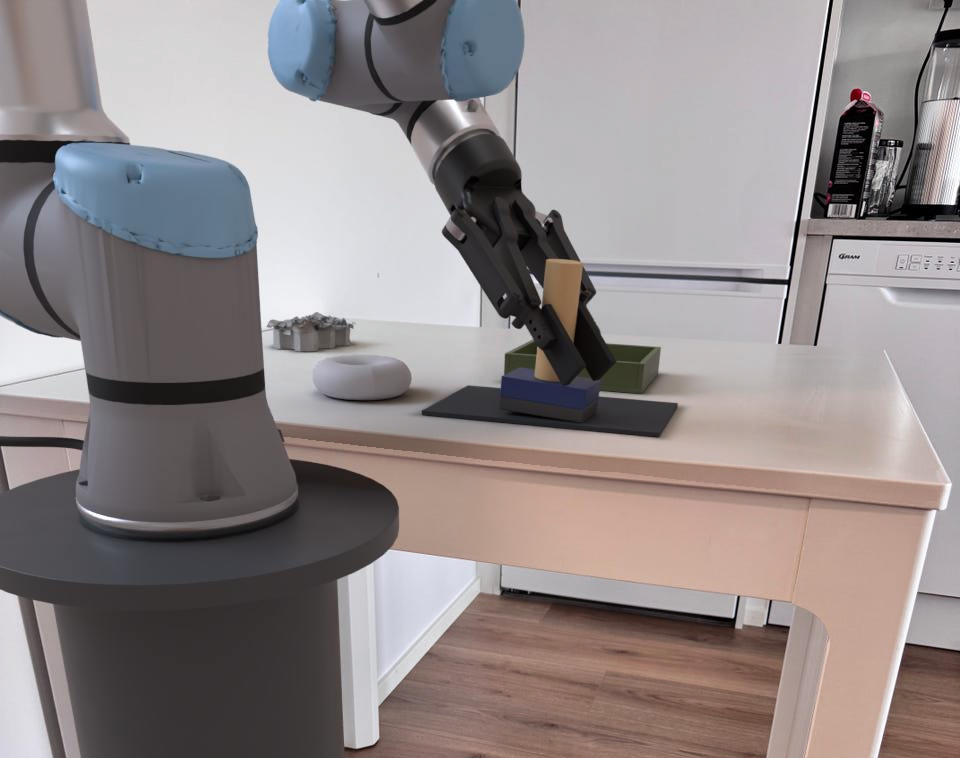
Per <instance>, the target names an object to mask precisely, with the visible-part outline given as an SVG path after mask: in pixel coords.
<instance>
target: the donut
mask: <svg viewBox="0 0 960 758" xmlns="http://www.w3.org/2000/svg"><path fill="white" fill-rule="evenodd" d="M311 377H312V381H313V385H314V386H315V388H316V390H317V391H318V392H319V393H322V394H323V395H325V396H327V397H330V398H333V399H338V400H339V399H340V400H347V401H349V400H350V401H377V400H378V401H379V400H389V399H393V398H396V397H399V396H401V395H403V394H404V393H405V392H406V391H407V390H408V389H409V388H410V386H411V384H412V379H413V378H412V372H411V370H410V368H409V366H408V365H407V364H406V363H405V362H404V361H403V360H400V359H398V358H395V357H391V356H386V355H375V354H342V355H334V356H328V357H326V358H325V357H324V358H323V359H322V360H320V361H318V362H317V363H316V364H315V365H314V367H313V369H312V376H311Z"/></svg>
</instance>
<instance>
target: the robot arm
mask: <svg viewBox="0 0 960 758" xmlns="http://www.w3.org/2000/svg"><path fill="white" fill-rule="evenodd" d="M267 38H268V39H267V41H268V42H267V57H268V61H269V66H270V69H271V71H272V74H273V76H274V77H275V80H276V81H277V83H279V84H280V85H281V86H282V88H284V89H285V90H287V91H288V92H291V93H294V94H297V95H299V96H302V97H305V98H307V99H309V101H311V102H315V103H316V102H317V101H319V102H323V103H327V104H331V105H336V106H340V107H344V108H348V109H352V110H357V111H361V112H364V113H365V112H366V113H369V114H371V115H374V116H378V117H383V118H387V119H390V120H394V121H395V122H396V123H397V124H398V126H399V127H400V130H401V131H402V132H403V134H404V136H405V137H406V139H407V141H408V142H409V144H410V146H411V148H412V150H413V152H414V154H415V156H416V158H417V159H418V162H419V163H420V165H421V167H422V169H423V171H424V172H425V174H426V176H427V178H428V179H429V181H430V183H431V184H432V185H434V188H435V191H436V192H437V195H438V196H439V198H440V200H441V201H442V203H443V205H444V207H445V208H446V210H447V212H448V214H449V215H450V216H449V218H448V219H447V221H446V222H445V225H444V226H443V228H442V229H441V234H442V236H443V237H444V238H445V239H446V240H447V241H448V243H450V244H451V245H452V246H453V247H454V248H455V249H456V250H457V251H458V253H459V255H460V256H461V257H462V259H463V261H464V262H465V264H466V266H467V267H468V269H469V270H470V272H471V273H472V275H473V277H474V278H475V280H476V281H477V283H478V284H479V286H480V288H481V289H482V291H483V292H484V294H485V296H486V297H487V299H488V301H489V302H490V304H491V305H492V307H493V308H494V310H495V311H496V313H497V314H498V315H499V317H501V318H502V319H508V318H509V317H514V319H513V320H512V321H511V323H510V324H511V325H512V327H513V328H515V329H517V330H521V329H523V327H524V326H525V328H526V329H527V331H528V333H529V335H530V336H531V338H532V340H534V342H535V343H536V345H537V346H538V347H539V348H540V349H541V350H543V352H544V354H545V356H546V357H547V359H548V361H549V363H550V364H551V366H552V368H553V370H554V372H555V373H556V375H557V377H558V379H559V380H560V382H561V384H562V386H565V385H569V384H570V383H571V382H572V381H573V380H574V379H575V377H576V376H577V375H578V374H579V373H580V372H581V371H582V370H583V369H584V368H586V370H587V371H588V373H589V375H590V377H591V378H592V380H593V381H597V380H599V379H600V378H601V377H602V376H603V375H604V374H605V373H606V372H607V371H608V370H609V369H610V368H611V367H612V366H613V365H614V364H615V363H616V362H617V361H616V360H615V358H614V356H613V354H612V353H611V351H610V349H609V348H608V346H607V344H606V343H607V342H606V341H605V339H604V337H603V336H602V332H601V329H600V327H599V326H598V324H597V322H596V321H595V318H594V317H593V315H592V314H591V311H590V310H589V308H588V304H589V303H590V302H591V300H592V299H593V298H594V297H595V296H596V294H597V289H596V288H595V285H594V284H593V282H592V280H591V278H590V276H589V275H588V272H587V271H586V269H585V267H584V266H583V268H582V276H581V285H580V293H579V302H578V310H577V319H576V327H575V336H574V343H573V342H572V340H571V338H570V337H569V335H568V333H567V331H566V330H565V328H564V326H563V324H562V323H561V321H560V319H559V317H558V316H557V314H556V312H555V310H554V309H553V307H552V305H551V304H545V305H544V306H543V307H542V299H541V297H540V294H539V292H538V289H537V288H536V285H535V282H534V281H533V278H532V276H533V277H534V278H535V280H536V282H537V283H538V284H539V286H540V287H541V288H542V289H543V287H544V277H545V267H546V260H547V259H565V260H574V261H579V262H582V261H581V259H580V257H579V255H578V253H577V252H576V249H575V248H574V245H573V244H572V242H571V240H570V238H569V236H568V234H567V232H566V231H565V228H564V222H563V217H562V214H561V212H559V211H558V210H556V209H551V210H550V211H549V213H548V214H544V213H542V212H539V211H538V210H536V207H535V205H534V203H533V202H532V201H531V200H530V199H529V198H528V197H527V196H526V195H525V194H524V193H523V189H522V188H523V187H522V178H523V177H522V176H523V175H522V169H521V167H520V165H519V163H518V161H517V159H516V158H515V155H514V154H513V152H512V151H511V149H510V147H509V146H508V144H507V142H506V141H505V139H504V138H503V137H501V134H500V132H499V130H498V128H497V126H496V125H495V122H493V119H492V117H491V116H490V115H489V113H488V111H487V110H486V108H485V106H484V105H483V103H482V101H481V98H485V97H491V96H496V95H498V94H500V93H502V92H503V91H505V90H506V89H507V88H508V87H509V86H510V85H511V83H512V82H513V81H514V80H515V77H516V75H517V74H518V71H519V70H520V67H521V64H522V61H523V57H524V52H525V51H524V50H525V26H524V19H523V15H522V11H521V9H520V6H519V4H518V2H517V0H279V1H278V3H277V4H276V5H275V8H274V9H273V11H272V14H271V17H270V21H269V25H268V29H267ZM130 141H131V140H130V137H129V136H128V135H127V134H126V133H125V132H124V131H122V129H120V128H119V127H118V126H117V125H116V124H115V123H114V122H113V121H112V120H111V119H110V118H109V117H108V115H107V114H106V112H105V110H104V108H103V105H102V96H101V90H100V83H99V76H98V70H97V64H96V57H95V50H94V44H93V35H92V31H91V23H90V16H89V9H88V3H87V0H0V317H2V318H3V319H5V320H7V321H9V322H12V323H13V324H15V325H16V326H18V327H21V328H23V329H25V330H27V331H29V332H32V333H33V334H36V335H37V334H38V335H43V336H47V337H51V338H56V339H57V338H60V339H61V338H65V339H69V340H73V341H79V342H80V345H81V352H82V357H83V358H82V359H83V364H84V371H85V376H86V383H87V390H88V399H89V411H88V415H87V422H86V428H85V433H84V439H79V438H72V437H63V436H62V437H61V436H60V437H59V436H57V437H56V436H11V435H9V436H5V435H0V447H4V448H5V447H9V448H16V447H18V448H62V449H72V450H77V451H81V456H80V464H79V469H80V472H79V476H78V478H77V482H76V503H77V510H78V516H79V520H80V521H81V523H82V524H84V525H85V526H86V527H88V528H89V529H91V530H93V531H96V532H98V533H101V534H104V535H108V536H112V537H117V538H122V539H129V540H137V541H150V542H188V541H202V540H212V539H220V538H226V537H232V536H238V535H242V534H247V533H251V532H255V531H258V530H262V529H265V528H268V527H270V526H273V525H275V524H278V523H280V522H282V521H284V520H285V519H287V518H288V517H290V516H291V515H292V514H294V513H295V511H296V510H297V508H298V505H299V499H298V485H297V483H296V476H295V472H294V470H293V467H292V466H291V463H290V460H289V459H290V458H289V455H288V452H287V448H286V446H285V443H286V442H285V441H286V440H285V439H284V436H283V433H282V430H281V429H279V428H278V427H277V424H276V421H275V419H274V416H273V414H272V411H271V409H270V406H269V403H268V399H267V391H266V376H265V375H266V374H265V361H264V360H265V359H264V344H263V331H262V314H261V297H260V295H261V294H260V280H259V263H258V262H259V261H258V245H257V243H258V242H257V241H258V238H259V231H258V225H257V223H256V219H255V212H254V206H253V201H252V200H253V199H252V195H251V187H250V184H249V181H248V180H247V177H246V176H245V175H244V173H243V172H242V171H241V170H240V168H239V167H237V166H236V165H234V164H232V163H230V162H228V161H226V160H224V159H220V158H218V157H213V156H209V155H205V154H199V153H195V152H188V151H183V150H172V149H166V148H163V147H162V148H160V147H154V146H145V145H136V144H131V142H130ZM530 273H531V274H532V275H531V274H530ZM505 295H506V296H505ZM504 296H505V298H504ZM541 307H542V308H541Z"/></svg>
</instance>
